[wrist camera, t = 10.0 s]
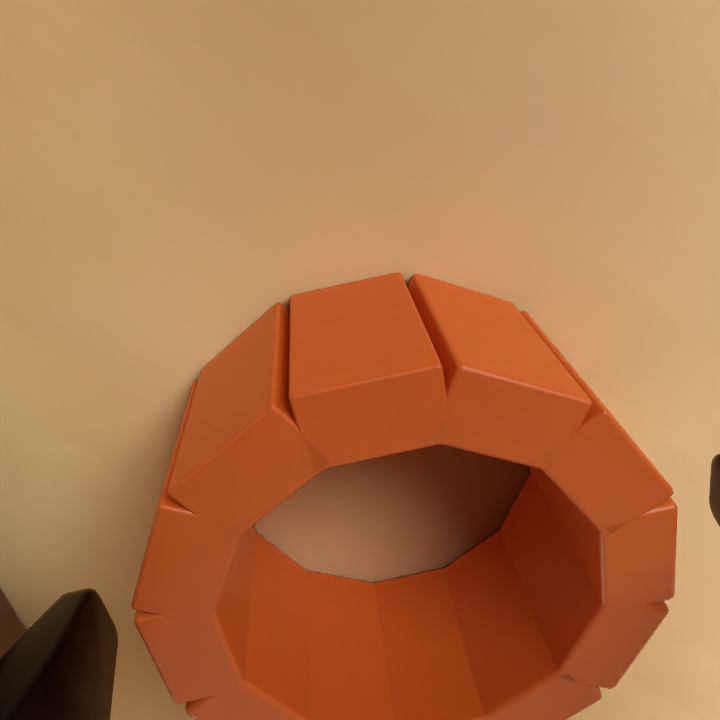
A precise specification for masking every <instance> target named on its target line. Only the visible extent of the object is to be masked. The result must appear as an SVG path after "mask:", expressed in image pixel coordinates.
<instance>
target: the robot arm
mask: <svg viewBox="0 0 720 720" xmlns="http://www.w3.org/2000/svg"><path fill="white" fill-rule="evenodd" d="M709 503H710V508H711V511H712V513H713V516H714V518H715V519H716V521H717V523H718V524H719V526H720V454H718V455H716V456H715V457H714V458H713V460H712V464H711V478H710V493H709ZM117 646H118V636H117V631H116V627H115V625H114V623H113V621H112V619H111V617H110V615H109V613H108V611H107V609H106V607H105V605H104V604H103V602H102V600H101V598H100V596H99V594H98V593H97V592H96V591H95V590H94V589H90V588H88V589H83V590H78V591H74V592H69V593H66V594H64V595H62V596H61V597H60V598H59V599H58V600H57V601H56V602H55V603H54V604H53V605H52V606H51V607H50V608H49V609H48V610H47V611H46V612H45V613H44V614H43V615H42V616H41V617H40V618H39V619H38V620H37V621H36V622H35V623H34V624H33V626H32V627H31V628H30V629H29V630H28V631H27V632H26V633H25V634H24V635H23V636H22V637H21V638H20V639H19V640H18V641H17V642H16V643H15V644H14V645H13V646H12V647H11V648H10V649H9V650H8V651H7V652H6V653H5V654H4V655H3V656H2V657H1V658H0V720H110V714H111V704H112V694H113V684H114V675H115V665H116V655H117Z"/></svg>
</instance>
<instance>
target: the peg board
mask: <svg viewBox="0 0 720 720" xmlns="http://www.w3.org/2000/svg"><path fill="white" fill-rule="evenodd" d="M25 633H26V630H25V628H24V627H23V625H22V623H21V622H20V620H19V619H18V617H17V615H16V614H15V612H14V610H13V609H12V607H11V606H10V604H9V602H8V601H7V599H6V597H5V596H4V594H3V592H2V591H1V589H0V658H1V657H2V656H3V655H4V654H5V653H6V652H7V651H8V650H9V649H10V648H11V647H12V646H13V645H14V644H15V643H16V642H17V641H18V640H19V639H20V638H21V637H22V636H23V635H24V634H25Z"/></svg>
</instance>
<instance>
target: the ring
mask: <svg viewBox="0 0 720 720" xmlns="http://www.w3.org/2000/svg"><path fill="white" fill-rule="evenodd" d="M439 444H442V445H446V446H450V447H454V448H458V449H462V450H466V451H470V452H475V453H479V454H483V455H487V456H491V457H495V458H499V459H503V460H507V461H511V462H515V463H519V464H523V465H527V466H530V470H531V473H530V475H529V476H528V478H527V480H526V482H525V484H524V486H523V488H522V489H521V491H520V493H519V495H518V497H517V499H516V501H515V502H514V504H513V506H512V508H511V510H510V512H509V514H508V515H507V517H506V519H505V521H504V523H503V525H502V527H501V528H500V530H499V531H497V532H496V533H494V534H493V535H492V536H490V537H489V538H487V539H486V540H484V541H483V542H482V543H480V544H479V545H477V546H476V547H474V548H473V549H471V550H470V551H469V552H467V553H466V554H464V555H463V556H461V557H460V558H459V559H457V560H456V561H454V562H453V563H451V564H450V565H449V566H447V567H446V568H442V569H438V570H433V571H428V572H423V573H419V574H414V575H409V576H405V577H400V578H395V579H391V580H386V581H381V582H376V583H370V582H365V581H359V580H354V579H349V578H344V577H338V576H333V575H328V574H323V573H318V572H312V571H307V570H305V569H303V568H302V567H301V566H300V565H298V564H297V563H296V562H294V561H293V560H292V559H290V558H289V557H288V556H286V555H285V554H284V553H283V552H281V551H280V550H279V549H277V548H276V547H275V546H273V545H272V544H271V543H270V542H268V541H267V540H266V539H264V538H263V537H262V536H260V535H259V534H258V533H256V531H255V529H254V526H253V525H254V524H255V523H256V522H257V521H259V520H260V519H261V518H263V517H264V516H265V515H266V514H268V513H269V512H270V511H271V510H273V509H274V508H275V507H277V506H278V505H279V504H280V503H282V502H283V501H284V500H285V499H287V498H288V497H289V496H291V495H292V494H293V493H294V492H296V491H297V490H298V489H299V488H301V487H302V486H303V485H305V484H306V483H307V482H308V481H310V480H311V479H312V478H314V477H315V476H316V475H317V474H319V473H320V472H321V471H322V470H324V469H327V468H331V467H336V466H341V465H345V464H350V463H355V462H359V461H364V460H369V459H373V458H378V457H383V456H387V455H392V454H397V453H401V452H406V451H411V450H415V449H420V448H425V447H430V446H434V445H439ZM672 494H673V490H672V488H671V486H670V485H669V484H668V483H667V481H666V480H665V479H664V478H663V477H662V475H661V474H660V473H659V472H658V470H657V469H656V468H655V467H654V466H653V464H652V463H651V462H650V461H649V459H648V458H647V457H646V456H645V455H644V453H643V452H642V451H641V450H640V448H639V447H638V446H637V445H636V444H635V442H634V441H633V440H632V439H631V437H630V436H629V435H628V434H627V433H626V431H625V430H624V429H623V428H622V426H621V425H620V424H619V423H618V422H617V420H616V419H615V418H614V417H613V415H612V414H611V413H610V412H609V411H608V409H607V408H606V407H605V406H604V405H603V403H602V402H601V401H600V400H599V399H598V397H597V396H596V395H595V394H594V393H593V391H592V390H591V389H590V388H589V387H588V385H587V384H586V383H585V382H584V381H583V379H582V378H581V377H580V376H579V375H578V373H577V372H576V371H575V370H574V369H573V367H572V366H571V365H570V364H569V363H568V361H567V360H566V359H565V358H564V357H563V355H562V354H561V353H560V352H559V351H558V349H557V348H556V347H555V346H554V345H553V343H552V342H551V341H550V340H549V339H548V338H547V336H546V335H545V334H544V333H543V332H542V330H541V329H540V328H539V327H538V326H537V324H536V323H535V322H534V321H533V320H532V318H531V317H530V316H529V315H528V314H527V312H525V311H522V312H519V311H518V309H517V308H516V307H515V306H514V305H513V304H512V303H511V302H508V301H505V300H501V299H498V298H495V297H491V296H488V295H485V294H482V293H478V292H475V291H472V290H469V289H465V288H462V287H459V286H456V285H452V284H449V283H446V282H443V281H439V280H436V279H433V278H429V277H426V276H423V275H420V274H414V275H413V276H412V278H411V281H410V283H409V286H408V288H407V285H406V283H405V281H404V279H403V276H402V274H401V273H393V274H389V275H384V276H379V277H375V278H370V279H365V280H361V281H356V282H352V283H347V284H342V285H338V286H333V287H328V288H324V289H319V290H314V291H310V292H305V293H301V294H296V295H292V296H291V298H290V312H289V311H288V310H287V309H286V308H285V307H284V306H283V305H282V304H281V303H276V304H275V305H274V306H273V307H272V308H271V309H269V310H268V311H267V312H266V313H265V314H264V315H263V316H262V317H260V318H259V319H258V320H257V321H256V322H255V323H254V324H252V325H251V326H250V327H249V328H248V329H247V330H246V331H245V332H243V333H242V334H241V335H240V336H239V337H238V338H237V339H236V340H234V341H233V342H232V343H231V344H230V345H229V346H228V347H226V348H225V349H224V350H223V351H222V352H221V353H220V354H219V355H217V356H216V357H215V358H214V359H213V360H212V361H211V362H209V363H208V364H207V365H206V366H205V367H204V368H203V369H202V370H201V373H200V376H199V380H198V381H195V382H194V383H193V385H192V389H191V392H190V396H189V399H188V403H187V406H186V409H185V413H184V416H183V420H182V423H181V427H180V430H179V433H178V437H177V440H176V444H175V447H174V450H173V454H172V457H171V461H170V464H169V468H168V471H167V474H166V478H165V481H164V485H163V488H162V492H161V495H160V498H159V502H158V505H157V509H156V513H155V517H154V520H153V524H152V528H151V532H150V536H149V540H148V543H147V547H146V551H145V555H144V559H143V563H142V566H141V570H140V574H139V578H138V582H137V586H136V589H135V593H134V597H133V601H132V609H134V610H137V611H136V615H135V620H134V622H135V625H136V627H137V629H138V631H139V633H140V635H141V637H142V639H143V641H144V643H145V645H146V647H147V649H148V651H149V653H150V655H151V657H152V659H153V661H154V663H155V665H156V667H157V669H158V671H159V673H160V675H161V677H162V679H163V681H164V683H165V685H166V687H167V689H168V691H169V693H170V695H171V697H172V699H173V701H174V702H175V703H178V704H180V703H185V702H186V707H185V709H186V713H187V714H188V715H189V716H191V717H193V718H194V719H196V720H567V719H568V718H570V717H572V716H573V715H575V714H577V713H578V712H580V711H582V710H583V709H585V708H587V707H588V706H590V705H592V704H593V703H595V702H597V701H598V700H600V698H601V691H600V689H599V687H603V688H608V689H611V688H614V687H615V686H616V685H617V683H618V682H619V681H620V679H621V678H622V676H623V675H624V674H625V672H626V671H627V669H628V668H629V667H630V665H631V664H632V662H633V661H634V660H635V658H636V657H637V655H638V654H639V653H640V651H641V650H642V649H643V647H644V646H645V644H646V643H647V642H648V640H649V639H650V637H651V636H652V635H653V633H654V632H655V630H656V629H657V628H658V626H659V625H660V624H661V622H662V621H663V619H664V618H665V617H666V615H667V614H668V611H669V609H668V606H667V605H666V603H665V602H664V600H669V599H671V598H672V597H673V596H674V587H675V559H676V531H677V506H676V504H675V502H674V501H673V500H672V498H671V497H670V496H672Z"/></svg>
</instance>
